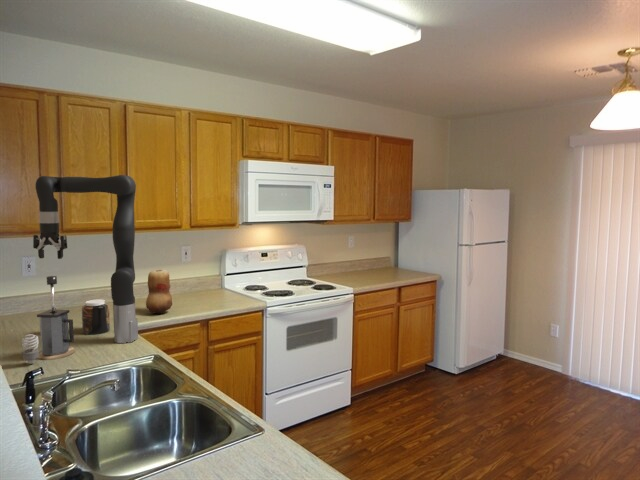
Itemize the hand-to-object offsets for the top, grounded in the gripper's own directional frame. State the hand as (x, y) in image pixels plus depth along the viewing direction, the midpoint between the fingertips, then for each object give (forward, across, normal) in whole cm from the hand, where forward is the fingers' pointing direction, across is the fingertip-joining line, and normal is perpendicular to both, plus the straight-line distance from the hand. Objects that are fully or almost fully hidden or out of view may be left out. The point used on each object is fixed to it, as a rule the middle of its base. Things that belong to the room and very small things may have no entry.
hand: (50, 258), depth 202 cm
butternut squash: (+38, -25, -54) cm, 71 cm away
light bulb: (+38, -9, +26) cm, 47 cm away
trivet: (+38, -10, +14) cm, 42 cm away
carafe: (+37, -12, +14) cm, 42 cm away
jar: (+38, -9, -18) cm, 43 cm away
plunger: (+25, -10, +14) cm, 31 cm away
